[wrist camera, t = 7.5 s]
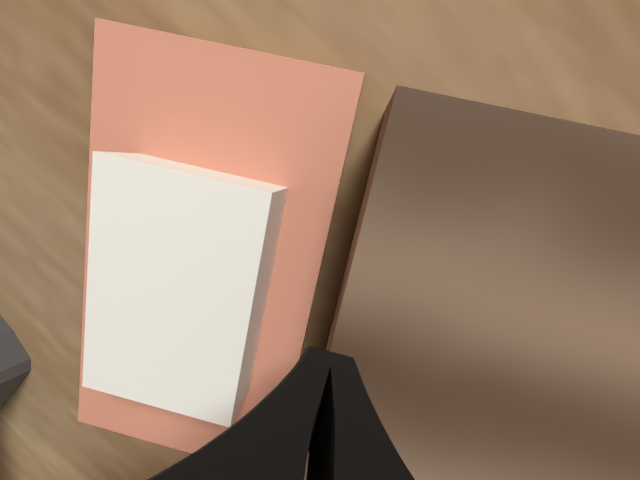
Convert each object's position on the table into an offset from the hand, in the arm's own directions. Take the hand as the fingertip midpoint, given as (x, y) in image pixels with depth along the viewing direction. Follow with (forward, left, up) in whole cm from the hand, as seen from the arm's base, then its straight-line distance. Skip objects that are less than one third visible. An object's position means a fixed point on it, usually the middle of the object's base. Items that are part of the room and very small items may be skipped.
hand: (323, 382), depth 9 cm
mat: (0, +6, -5) cm, 8 cm away
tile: (0, +6, -2) cm, 6 cm away
